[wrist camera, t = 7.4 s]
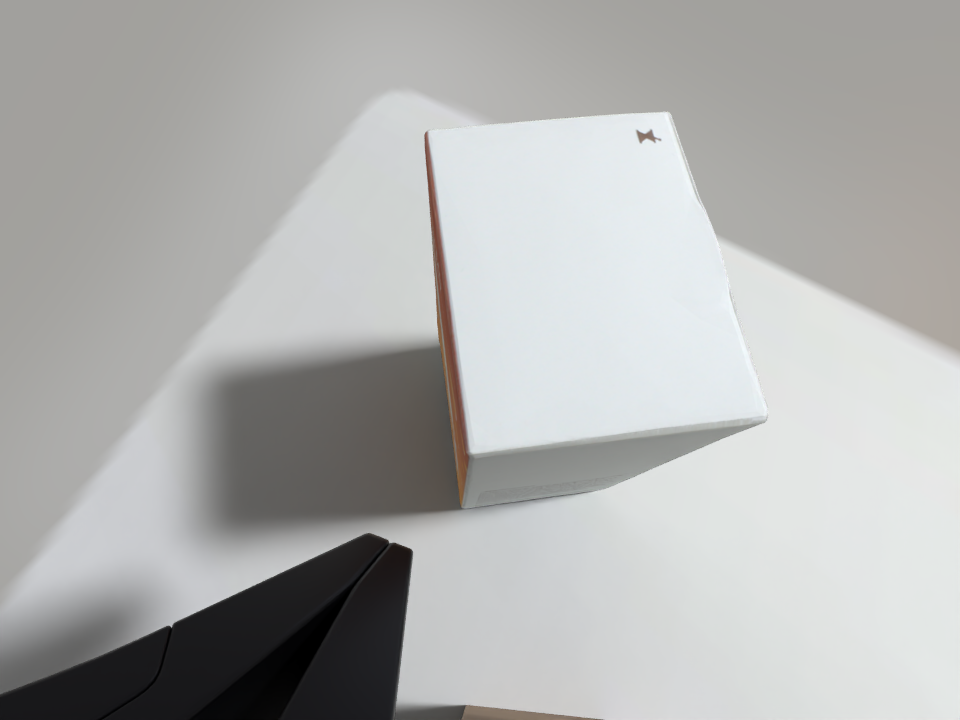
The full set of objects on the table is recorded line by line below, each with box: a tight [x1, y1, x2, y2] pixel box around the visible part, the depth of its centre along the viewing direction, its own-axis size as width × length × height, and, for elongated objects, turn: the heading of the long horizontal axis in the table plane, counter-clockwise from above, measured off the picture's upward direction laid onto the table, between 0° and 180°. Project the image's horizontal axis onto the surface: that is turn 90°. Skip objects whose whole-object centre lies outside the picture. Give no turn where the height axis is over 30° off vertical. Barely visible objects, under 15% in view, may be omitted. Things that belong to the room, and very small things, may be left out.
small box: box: [425, 111, 768, 509], centre depth 18 cm, size 8×6×13 cm
